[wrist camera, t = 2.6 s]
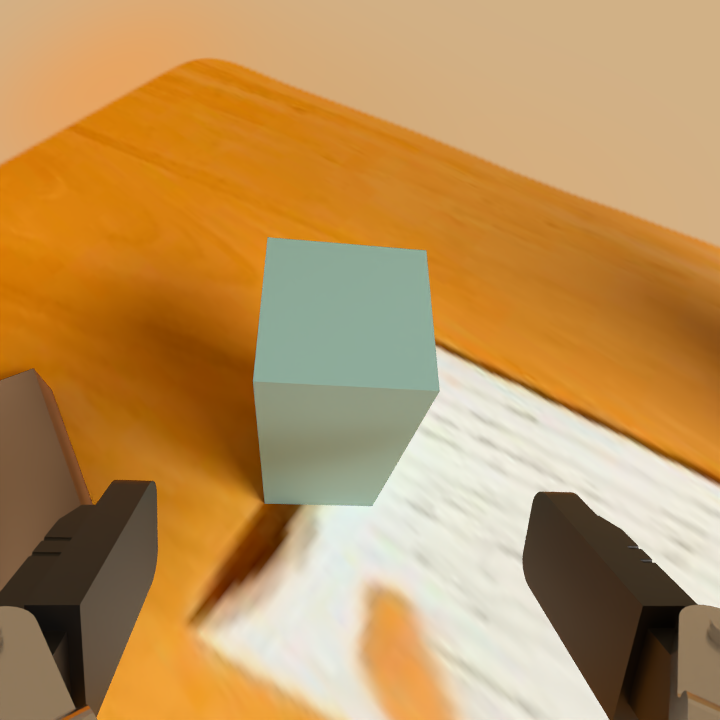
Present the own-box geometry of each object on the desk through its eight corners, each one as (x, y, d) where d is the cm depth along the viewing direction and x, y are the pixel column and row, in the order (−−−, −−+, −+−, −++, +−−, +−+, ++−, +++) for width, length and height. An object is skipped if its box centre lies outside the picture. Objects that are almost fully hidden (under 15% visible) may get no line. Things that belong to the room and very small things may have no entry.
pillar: (370, 409, 25) (426, 250, 15) (372, 506, 22) (439, 391, 13) (272, 404, 24) (267, 237, 15) (264, 503, 22) (252, 381, 12)
